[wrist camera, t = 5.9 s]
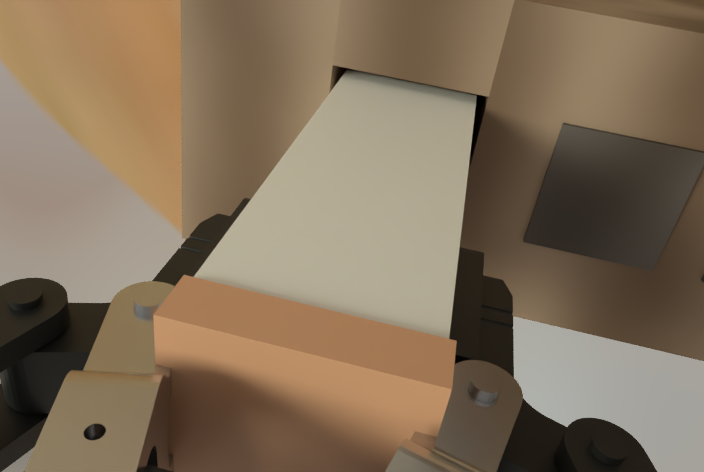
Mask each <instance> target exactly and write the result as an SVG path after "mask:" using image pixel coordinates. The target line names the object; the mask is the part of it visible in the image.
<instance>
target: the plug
mask: <svg viewBox="0 0 704 472" xmlns="http://www.w3.org/2000/svg"><path fill="white" fill-rule="evenodd" d="M476 99H477V95H472V94H467V93H462V92H457V91H452V90H448V89H443V88H438V87H433V86H428V85H423V84H418V83H413V82H408V81H403V80H398V79H393V78H388V77H383V76H378V75H373V74H369V73H364V72H359V71H354V70H349V69H347V70H346V72H345V73H344V74H343V76H342V77H341V78H340V80H339V81H338V82H337V84H336V85H335V86H334V88H333V89H332V90H331V92H330V93H329V95H328V96H327V97H326V99H325V100H324V101H323V103H322V104H321V105H320V107H319V108H318V109H317V111H316V112H315V113H314V115H313V116H312V118H311V119H310V120H309V122H308V123H307V124H306V126H305V127H304V128H303V130H302V131H301V132H300V134H299V135H298V136H297V138H296V139H295V141H294V142H293V143H292V145H291V146H290V147H289V149H288V150H287V151H286V153H285V154H284V155H283V157H282V158H281V159H280V161H279V162H278V163H277V165H276V166H275V168H274V169H273V170H272V172H271V173H270V174H269V176H268V177H267V178H266V180H265V181H264V182H263V184H262V185H261V186H260V188H259V189H258V191H257V192H256V193H255V195H254V196H253V197H252V199H251V200H250V201H249V203H248V204H247V205H246V207H245V208H244V209H243V211H242V212H241V213H240V215H239V216H238V218H237V219H236V220H235V222H234V223H233V224H232V226H231V227H230V228H229V230H228V231H227V232H226V234H225V235H224V236H223V238H222V239H221V241H220V242H219V243H218V245H217V246H216V247H215V249H214V250H213V251H212V253H211V254H210V255H209V257H208V258H207V259H206V261H205V262H204V264H203V265H202V266H201V268H200V269H199V270H198V272H197V273H196V274H195V276H194V277H191V276H187V275H183V277H182V278H181V279H180V281H179V282H178V283H177V284H176V286H175V287H174V288H173V290H172V291H171V292H170V294H169V295H168V296H167V298H166V299H165V300H164V301H163V303H162V304H161V305H160V307H159V308H158V309H157V311H156V312H155V313H154V314H153V319H154V344H155V364H157V365H161V366H164V367H168V368H171V375H172V392H171V396H170V401H169V408H168V420H167V427H168V454H171V455H174V472H385V471H386V469H387V467H388V466H389V464H390V462H391V460H392V459H393V457H394V455H395V453H396V452H397V450H398V448H399V446H400V445H401V443H402V442H403V441H404V439H406V438H407V439H409V440H410V439H411V437H412V436H413V434H414V432H415V431H416V432H420V433H424V434H428V435H432V436H436V437H437V436H438V433H439V429H440V426H441V423H442V420H443V417H444V414H445V410H446V407H447V404H448V401H449V398H450V394H451V391H452V385H453V374H454V364H455V354H456V344H457V341H455V340H451V339H449V335H450V327H451V318H452V309H453V300H454V292H455V283H456V274H457V265H458V257H459V248H460V239H461V230H462V222H463V213H464V204H465V195H466V187H467V178H468V169H469V160H470V152H471V143H472V134H473V125H474V117H475V108H476Z"/></svg>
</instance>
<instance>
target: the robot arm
mask: <svg viewBox="0 0 704 472" xmlns="http://www.w3.org/2000/svg"><path fill="white" fill-rule="evenodd" d="M250 200H251V199H249V198H244V199H243V200H242V202H241V203H240V204H239V205H238V207H237V208H236V209H235V211H234V212H233V213H232V215H231V216H227V215H223V214H219V213H218V214H216V215H214V216H212V217H210V218H208V219H206V220H204V221H202V222H200V224H199V225H198V226H197V227H196V228H195V230H194V231H193V232H192V233H191V234H190V237H189V238H187V239H186V241H185V242H184V243H183V244H182V245H181V249H178V250H177V252H176V253H175V254H174V255H173V256H172V258H171V259H170V260H169V261H168V262H167V264H166V265H165V266H164V267H163V268H162V270H161V271H160V272H159V273H158V274H157V276H156V277H155V278H154V280H153V281H149V282H141V283H137V284H133V285H130V286H128V287H126V288H124V289H122V290H121V291H120V292H118V293H117V295H115V297H114V298H113V300H112V302H111V303H68V298H67V292H66V290H65V289H64V287H63V286H62V285H60V284H59V283H57V282H55V281H52V280H49V279H43V278H26V279H20V280H15V281H12V282H9V283H6V284H4V285H2V286H0V379H1V384H0V472H1V471H3V470H4V469H5V468H7V467H8V466H9V465H11V464H12V463H13V462H15V461H16V460H17V459H19V458H20V457H21V456H22V455H24V454H25V453H27V452H28V451H29V450H31V449H32V448H33V447H34V450H33V452H32V454H31V456H30V458H29V461H28V463H27V465H26V468H25V470H24V472H174V455H171V454H168V427H167V420H168V408H169V401H170V396H171V392H172V375H171V368H168V367H164V366H161V365H157V364H155V344H154V319H153V314H154V313H155V312H156V311H157V309H158V308H159V307H160V305H161V304H162V303H163V301H164V300H165V299H166V298H167V296H168V295H169V294H170V292H171V291H172V290H173V288H174V287H175V286H176V284H177V283H178V282H179V281H180V279H181V278H182V277H183V275H187V276H191V277H194V276H195V274H196V273H197V272H198V270H199V269H200V268H201V266H202V265H203V264H204V262H205V261H206V259H207V258H208V257H209V255H210V254H211V253H212V251H213V250H214V249H215V247H216V246H217V245H218V243H219V242H220V241H221V239H222V238H223V236H224V235H225V234H226V232H227V231H228V230H229V228H230V227H231V226H232V224H233V223H234V222H235V220H236V219H237V218H238V216H239V215H240V213H241V212H242V211H243V209H244V208H245V207H246V205H247V204H248V203H249V201H250ZM483 268H484V252H480V251H475V250H471V249H466V248H462V247H460V248H459V257H458V265H457V274H456V283H455V292H454V300H453V309H452V318H451V327H450V335H449V339H451V340H455V341H457V344H456V354H455V364H454V374H453V385H452V391H451V394H450V398H449V401H448V404H447V407H446V410H445V414H444V417H443V420H442V423H441V426H440V429H439V433H438V436H437V437H436V436H432V435H428V434H424V433H420V432H416V431H415V432H414V434H413V436H412V437H411V439H410V440H409V439H407V438H406V439H404V441H403V442H402V443H401V445H400V446H399V448H398V450H397V452H396V453H395V455H394V457H393V459H392V460H391V462H390V464H389V466H388V467H387V469H386V471H385V472H657V471H656V469H655V468H654V466H653V464H652V462H651V461H650V459H649V457H648V455H647V454H646V452H645V451H644V449H643V448H642V446H641V445H640V444H639V442H638V441H637V440H636V439H635V438H633V436H632V435H630V434H629V433H628V432H627V431H625V430H624V429H622V428H620V427H619V426H617V425H615V424H613V423H611V422H608V421H605V420H602V419H596V418H582V419H578V420H576V421H574V422H572V423H571V424H570V425H569V426H568V427H565V426H563V425H561V424H559V423H557V422H555V421H554V420H552V419H550V418H548V417H546V416H544V415H542V414H541V413H539V412H538V411H536V410H535V409H534V408H532V407H531V406H530V405H529V404H528V403H527V402H526V401H525V400H524V399H523V394H522V390H521V388H520V386H519V384H518V383H517V381H516V380H515V379H514V367H513V329H512V328H513V315H512V314H513V296H512V294H511V292H510V291H509V289H508V287H507V286H506V284H505V282H504V281H503V280H501V279H497V278H493V277H489V276H484V275H483Z"/></svg>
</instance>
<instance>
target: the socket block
mask: <svg viewBox="0 0 704 472" xmlns="http://www.w3.org/2000/svg"><path fill="white" fill-rule="evenodd" d="M347 69H349V70H354V71H359V72H362V71H363V72H368V73H373V74H378V75H383V76H388V77H393V78H398V79H403V80H408V81H413V82H418V83H423V84H428V85H433V86H438V87H442V88H447V89H452V90H457V91H462V92H467V93H472V94H477V95H479V98H478V102H477V106H476V110H475V117H474V125H473V134H472V143H471V152H470V160H469V169H468V178H467V187H466V195H465V204H464V213H463V222H462V230H461V239H460V247H462V248H466V249H471V250H475V251H480V252H484V268H483V275H484V276H489V277H493V278H497V279H501V280H503V281H504V282H505V284H506V286H507V287H508V289H509V291H510V292H511V294H512V296H513V314H512V315H513V316H516V317H520V318H524V319H528V320H532V321H537V322H541V323H545V324H549V325H554V326H558V327H562V328H566V329H571V330H575V331H579V332H583V333H588V334H592V335H596V336H601V337H604V338H609V339H613V340H617V341H621V342H626V343H630V344H634V345H639V346H643V347H647V348H651V349H655V350H660V351H664V352H668V353H672V354H676V355H681V356H685V357H689V358H693V359H698V360H702V361H704V0H181V113H182V238H185V239H187V238H189V237H190V234H191V233H192V232H193V231H194V230H195V228H196V227H197V226H198V225H199V224H200V222H202V221H204V220H206V219H208V218H210V217H212V216H214V215H216V214H218V213H219V214H223V215H227V216H231V215H232V213H233V212H234V211H235V209H236V208H237V207H238V205H239V204H240V203H241V202H242V200H243V199H244V198H249V199H252V197H253V196H254V195H255V193H256V192H257V191H258V189H259V188H260V186H261V185H262V184H263V182H264V181H265V180H266V178H267V177H268V176H269V174H270V173H271V172H272V170H273V169H274V168H275V166H276V165H277V163H278V162H279V161H280V159H281V158H282V157H283V155H284V154H285V153H286V151H287V150H288V149H289V147H290V146H291V145H292V143H293V142H294V141H295V139H296V138H297V136H298V135H299V134H300V132H301V131H302V130H303V128H304V127H305V126H306V124H307V123H308V122H309V120H310V119H311V118H312V116H313V115H314V113H315V112H316V111H317V109H318V108H319V107H320V105H321V104H322V103H323V101H324V100H325V99H326V97H327V96H328V95H329V93H330V92H331V90H332V89H333V88H334V86H335V85H336V84H337V82H338V81H339V80H340V78H341V77H342V76H343V74H344V73H345V72H346V70H347Z"/></svg>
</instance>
